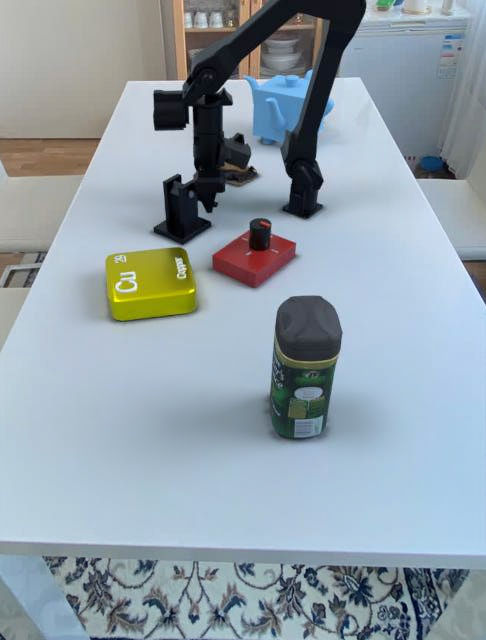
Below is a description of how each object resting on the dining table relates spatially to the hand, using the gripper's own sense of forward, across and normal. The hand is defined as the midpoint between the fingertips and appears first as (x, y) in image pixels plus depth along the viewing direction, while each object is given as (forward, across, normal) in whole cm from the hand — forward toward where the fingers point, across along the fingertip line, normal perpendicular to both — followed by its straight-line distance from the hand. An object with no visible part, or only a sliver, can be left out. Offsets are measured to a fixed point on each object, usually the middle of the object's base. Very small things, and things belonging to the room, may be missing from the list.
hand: (209, 204), depth 120 cm
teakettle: (+2, +37, -20) cm, 42 cm away
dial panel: (+1, -20, -8) cm, 22 cm away
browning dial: (-2, -19, -9) cm, 21 cm away
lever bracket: (+2, -7, +6) cm, 9 cm away
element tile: (+1, -29, +11) cm, 31 cm away
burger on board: (+2, +17, -6) cm, 18 cm away
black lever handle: (-4, -5, +4) cm, 7 cm away
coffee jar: (+1, -60, -11) cm, 61 cm away
